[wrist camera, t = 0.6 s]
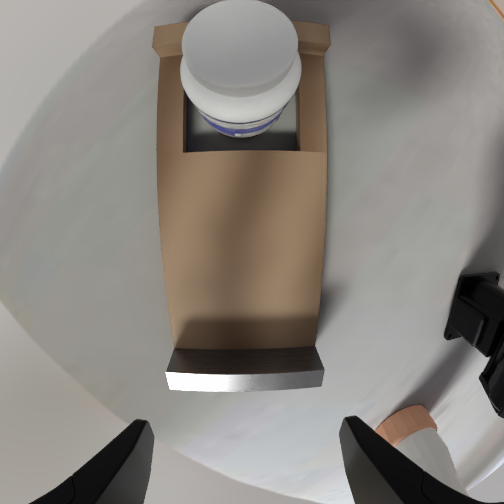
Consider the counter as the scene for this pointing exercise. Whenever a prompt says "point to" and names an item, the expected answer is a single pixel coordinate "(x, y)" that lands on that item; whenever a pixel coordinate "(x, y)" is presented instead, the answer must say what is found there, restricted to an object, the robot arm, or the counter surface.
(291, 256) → the brown long shallow piece
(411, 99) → the counter surface
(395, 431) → the pepper shaker
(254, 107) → the pill bottle
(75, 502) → the robot arm
